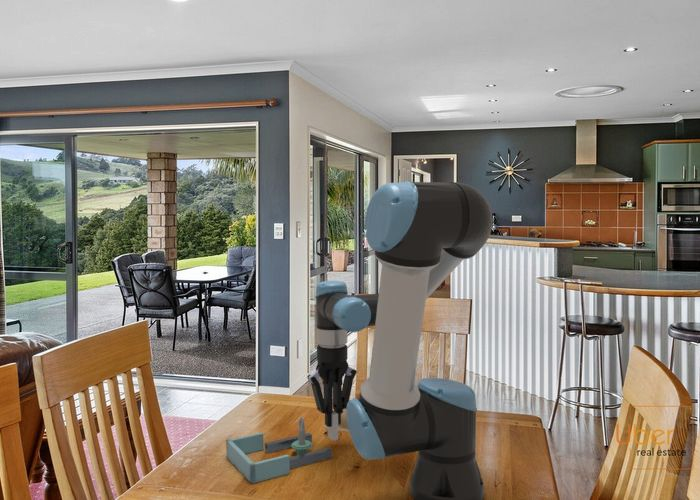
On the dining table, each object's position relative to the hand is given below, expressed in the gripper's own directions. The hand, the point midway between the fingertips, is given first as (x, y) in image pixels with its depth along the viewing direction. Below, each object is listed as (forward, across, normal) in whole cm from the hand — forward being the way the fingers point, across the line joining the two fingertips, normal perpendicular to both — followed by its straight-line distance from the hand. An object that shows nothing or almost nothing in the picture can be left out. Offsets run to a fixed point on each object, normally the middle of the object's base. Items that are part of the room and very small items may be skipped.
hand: (333, 438), depth 144 cm
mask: (+3, -16, -6) cm, 17 cm away
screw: (+2, +9, 0) cm, 9 cm away
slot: (+2, +10, 0) cm, 10 cm away
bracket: (+2, +20, 0) cm, 20 cm away
